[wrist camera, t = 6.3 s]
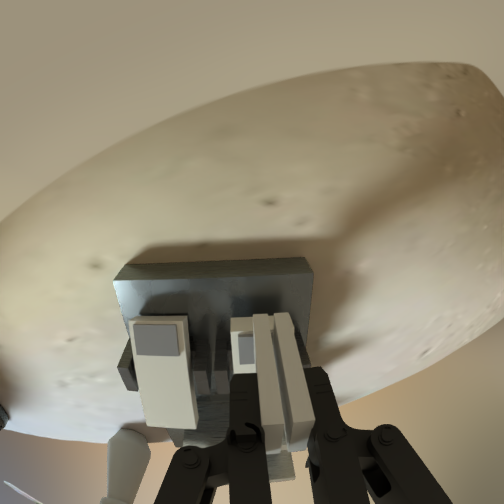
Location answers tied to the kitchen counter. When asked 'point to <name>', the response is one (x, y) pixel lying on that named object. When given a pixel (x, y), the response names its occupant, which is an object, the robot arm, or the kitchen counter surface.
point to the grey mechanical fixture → (216, 328)
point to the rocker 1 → (164, 370)
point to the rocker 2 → (245, 343)
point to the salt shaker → (125, 466)
